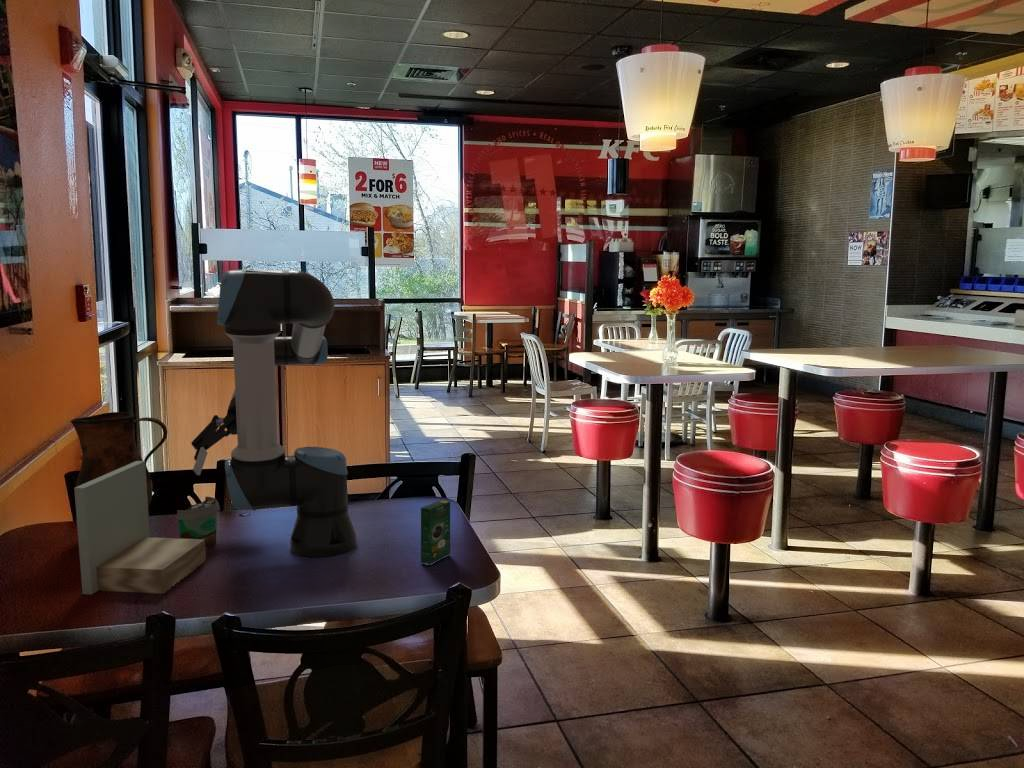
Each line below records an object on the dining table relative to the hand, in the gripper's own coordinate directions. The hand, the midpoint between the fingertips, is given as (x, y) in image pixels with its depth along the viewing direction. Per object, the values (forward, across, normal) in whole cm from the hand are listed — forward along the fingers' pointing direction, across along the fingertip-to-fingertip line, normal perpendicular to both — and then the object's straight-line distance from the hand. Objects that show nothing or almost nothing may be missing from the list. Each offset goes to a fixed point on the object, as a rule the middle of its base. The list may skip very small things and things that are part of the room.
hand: (222, 473), depth 197 cm
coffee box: (+21, -56, 0) cm, 60 cm away
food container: (+18, 0, -3) cm, 18 cm away
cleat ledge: (+31, +2, +11) cm, 33 cm away
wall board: (+31, +10, +11) cm, 34 cm away
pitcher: (+15, +22, -6) cm, 27 cm away
